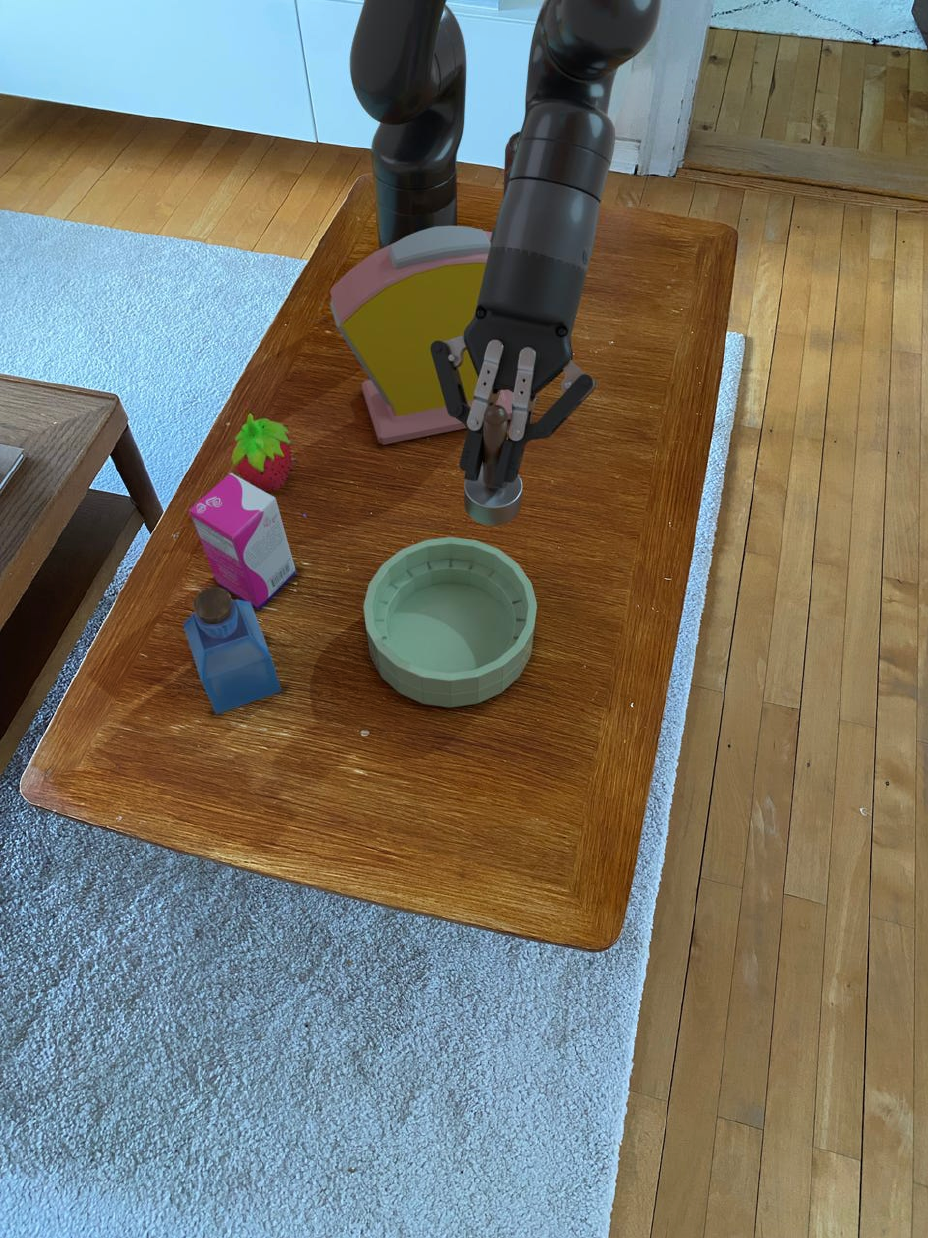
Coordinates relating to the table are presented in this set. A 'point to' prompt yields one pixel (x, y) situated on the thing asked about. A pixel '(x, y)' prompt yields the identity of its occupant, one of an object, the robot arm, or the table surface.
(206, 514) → the supplement box
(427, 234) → the pink and yellow fan
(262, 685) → the perfume bottle
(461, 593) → the bowl
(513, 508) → the peg on round base
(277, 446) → the strawberry
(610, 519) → the table surface
